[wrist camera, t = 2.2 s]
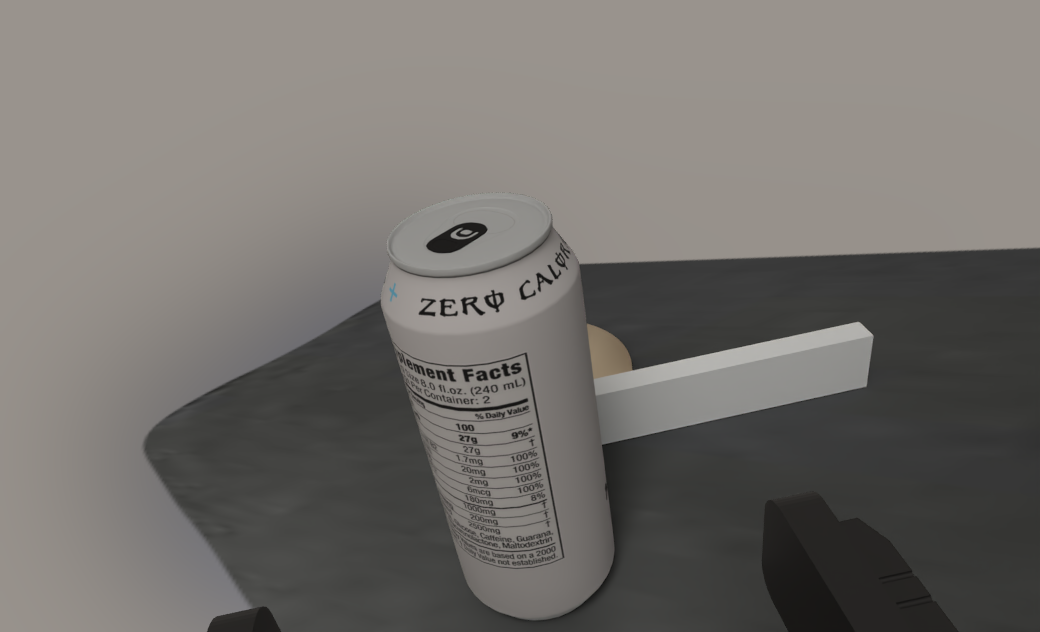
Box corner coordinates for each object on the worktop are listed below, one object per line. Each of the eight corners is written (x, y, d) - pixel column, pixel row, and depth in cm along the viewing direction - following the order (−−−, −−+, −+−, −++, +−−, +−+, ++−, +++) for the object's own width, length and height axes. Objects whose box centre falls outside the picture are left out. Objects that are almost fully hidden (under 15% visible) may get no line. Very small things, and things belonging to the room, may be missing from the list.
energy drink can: (646, 548, 28) (615, 202, 20) (551, 665, 25) (468, 303, 17) (532, 486, 32) (468, 174, 24) (436, 581, 28) (323, 251, 20)
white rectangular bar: (852, 372, 35) (858, 321, 33) (866, 386, 34) (873, 335, 32) (435, 463, 34) (420, 416, 32) (436, 481, 33) (421, 433, 31)
